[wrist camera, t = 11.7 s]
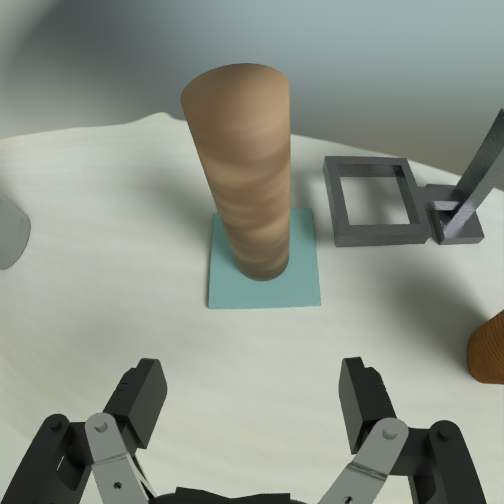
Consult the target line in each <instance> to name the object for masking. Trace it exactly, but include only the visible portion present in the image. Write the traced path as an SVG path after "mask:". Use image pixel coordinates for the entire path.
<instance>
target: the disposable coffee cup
mask: <svg viewBox="0 0 504 504" xmlns="http://www.w3.org/2000/svg"><path fill="white" fill-rule="evenodd" d="M467 361H468V367H469V370H470V372H471V374H472V375H473V377H474V378H475V379H476V380H477V381H479V382H481V383H486V384H504V310H502V311H501V312H500V313H498V314H497V315H496V316H494V317H493V318H492V319H490V320H489V321H488V322H486V323H485V324H483V325H482V326H480V327H479V328H477V329H476V331H475V332H474V333H473V335H472V336H471V339H470V341H469V344H468V349H467Z"/></svg>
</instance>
